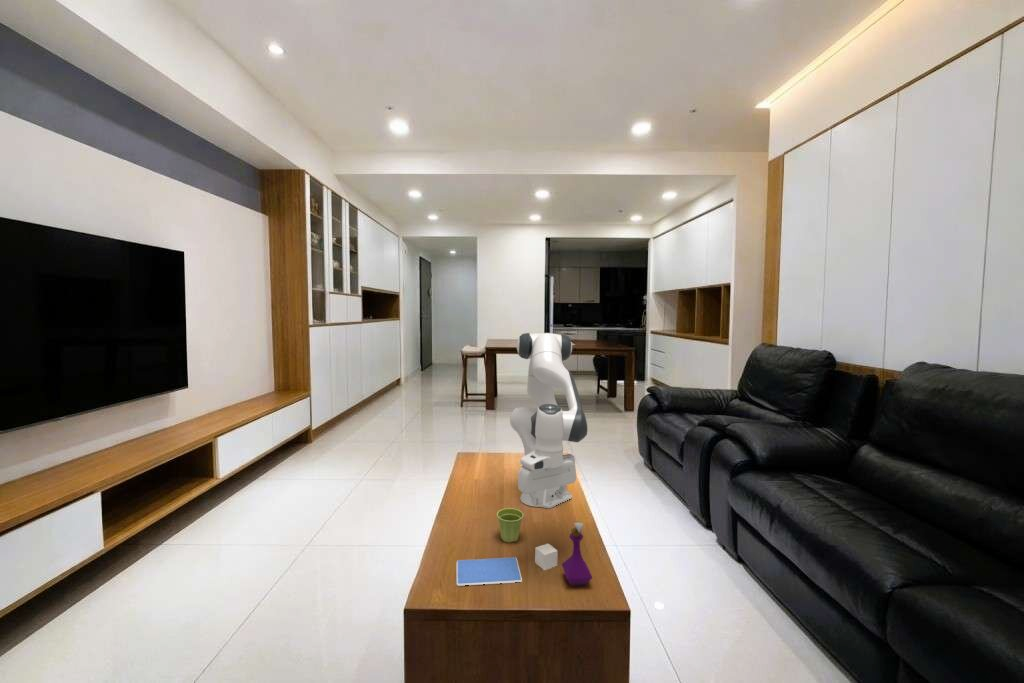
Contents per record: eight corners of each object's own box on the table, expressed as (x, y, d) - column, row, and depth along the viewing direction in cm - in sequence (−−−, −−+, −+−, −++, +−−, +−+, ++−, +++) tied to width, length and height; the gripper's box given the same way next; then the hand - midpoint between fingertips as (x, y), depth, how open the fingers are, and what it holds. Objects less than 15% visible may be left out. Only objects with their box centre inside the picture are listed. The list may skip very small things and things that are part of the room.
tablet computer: (516, 560, 138) (516, 556, 138) (522, 584, 126) (522, 580, 126) (456, 563, 135) (456, 559, 135) (456, 589, 123) (456, 584, 123)
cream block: (547, 558, 139) (548, 543, 138) (557, 566, 134) (557, 550, 134) (535, 562, 136) (535, 547, 136) (544, 570, 132) (544, 555, 131)
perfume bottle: (561, 573, 130) (562, 516, 129) (585, 573, 131) (587, 515, 130) (566, 589, 123) (568, 528, 122) (592, 588, 123) (593, 528, 122)
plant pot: (526, 534, 153) (526, 510, 153) (518, 547, 144) (518, 522, 144) (502, 529, 156) (502, 506, 156) (492, 542, 147) (492, 518, 147)
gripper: (568, 450, 141) (567, 491, 142) (515, 459, 130) (514, 504, 131) (581, 455, 136) (579, 498, 136) (527, 465, 125) (525, 512, 126)
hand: (547, 501), depth 134 cm, fingers open, 8 cm apart
